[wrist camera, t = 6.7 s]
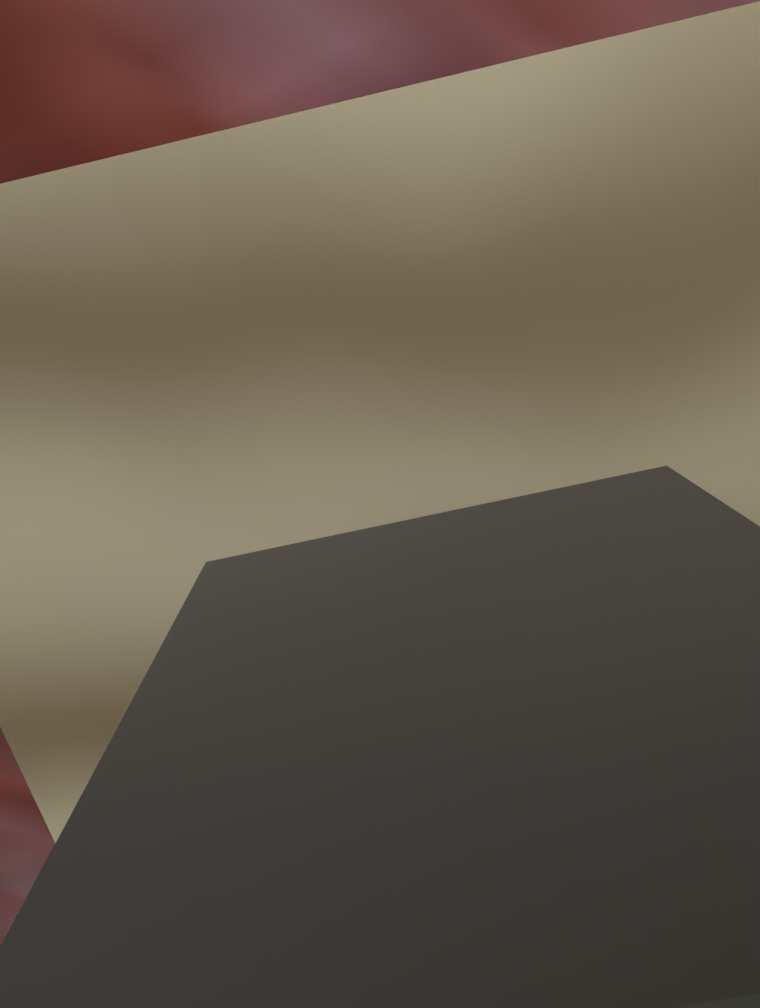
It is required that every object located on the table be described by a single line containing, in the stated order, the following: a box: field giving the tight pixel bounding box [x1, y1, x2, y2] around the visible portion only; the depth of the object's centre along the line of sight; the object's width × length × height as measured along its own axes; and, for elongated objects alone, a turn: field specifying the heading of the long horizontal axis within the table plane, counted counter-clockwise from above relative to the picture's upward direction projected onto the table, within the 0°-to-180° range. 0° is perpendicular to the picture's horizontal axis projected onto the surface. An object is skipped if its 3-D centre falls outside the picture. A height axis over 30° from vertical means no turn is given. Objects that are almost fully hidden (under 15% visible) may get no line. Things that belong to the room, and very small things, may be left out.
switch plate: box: [0, 1, 760, 843], centre depth 9 cm, size 16×14×6 cm
